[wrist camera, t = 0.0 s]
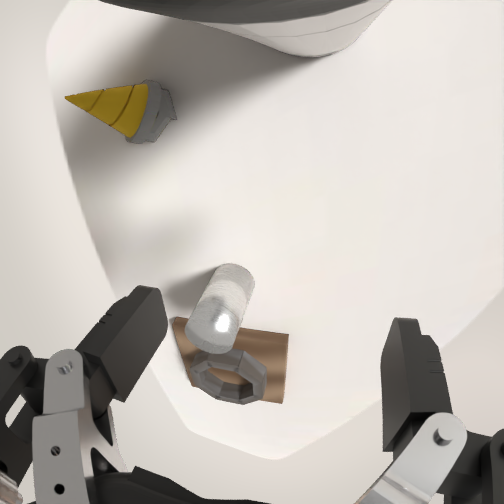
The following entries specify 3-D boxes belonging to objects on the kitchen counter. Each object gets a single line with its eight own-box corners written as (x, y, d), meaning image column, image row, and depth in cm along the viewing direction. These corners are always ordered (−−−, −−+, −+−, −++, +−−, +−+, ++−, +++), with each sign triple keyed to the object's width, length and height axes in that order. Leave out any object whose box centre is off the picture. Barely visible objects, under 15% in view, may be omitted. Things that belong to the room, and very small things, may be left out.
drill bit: (159, 150, 27) (54, 134, 20) (171, 96, 26) (70, 74, 19) (184, 149, 23) (57, 127, 16) (199, 85, 22) (78, 55, 15)
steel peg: (211, 261, 32) (180, 315, 25) (253, 266, 31) (230, 324, 24) (216, 294, 34) (189, 348, 28) (255, 299, 33) (234, 357, 27)
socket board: (176, 316, 38) (163, 339, 35) (288, 334, 35) (282, 361, 32) (195, 378, 46) (186, 398, 42) (284, 395, 43) (279, 418, 40)
